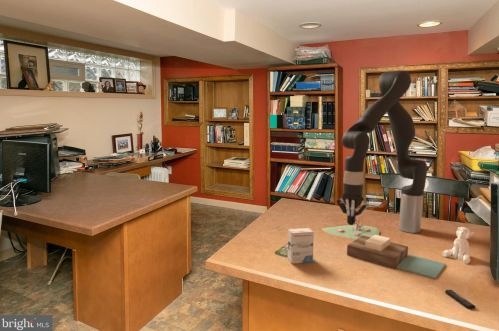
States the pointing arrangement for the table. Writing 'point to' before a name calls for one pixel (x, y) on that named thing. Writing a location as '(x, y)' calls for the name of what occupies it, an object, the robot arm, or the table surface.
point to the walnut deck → (378, 252)
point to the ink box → (300, 245)
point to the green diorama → (352, 230)
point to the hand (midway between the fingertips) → (351, 224)
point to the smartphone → (283, 251)
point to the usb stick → (460, 299)
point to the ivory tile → (377, 242)
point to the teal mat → (421, 266)
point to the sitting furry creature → (460, 246)
